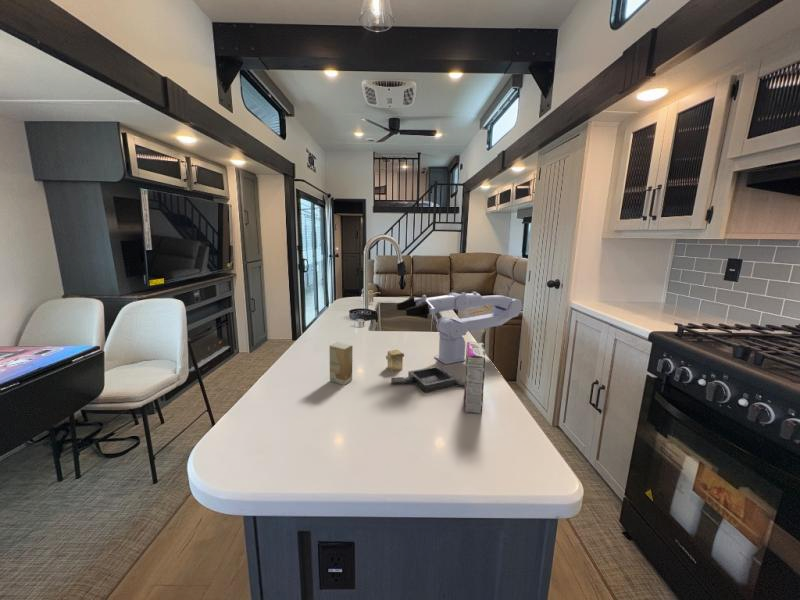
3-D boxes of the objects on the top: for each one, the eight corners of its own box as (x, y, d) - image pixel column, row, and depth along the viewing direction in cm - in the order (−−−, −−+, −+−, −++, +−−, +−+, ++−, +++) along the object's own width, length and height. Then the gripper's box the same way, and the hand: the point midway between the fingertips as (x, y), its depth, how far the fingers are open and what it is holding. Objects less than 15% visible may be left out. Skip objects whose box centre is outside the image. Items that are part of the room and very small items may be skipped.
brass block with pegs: (400, 364, 117) (400, 349, 116) (405, 368, 114) (405, 352, 112) (384, 367, 114) (384, 351, 113) (388, 371, 111) (389, 355, 110)
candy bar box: (463, 392, 97) (466, 341, 93) (480, 394, 96) (484, 342, 92) (463, 412, 86) (466, 355, 83) (482, 415, 85) (486, 356, 82)
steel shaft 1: (412, 381, 104) (412, 375, 103) (413, 384, 102) (413, 378, 101) (391, 382, 103) (391, 376, 103) (391, 385, 101) (391, 379, 101)
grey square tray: (436, 372, 110) (436, 365, 110) (455, 386, 101) (455, 378, 100) (408, 378, 106) (408, 371, 105) (424, 393, 96) (425, 385, 96)
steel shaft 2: (453, 386, 101) (453, 380, 100) (453, 383, 102) (454, 378, 102) (476, 389, 99) (476, 383, 98) (476, 386, 101) (476, 380, 100)
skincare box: (329, 381, 103) (328, 345, 101) (337, 376, 107) (336, 341, 105) (345, 385, 100) (344, 348, 98) (353, 380, 104) (352, 344, 102)
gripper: (426, 289, 121) (393, 294, 115) (446, 298, 108) (410, 303, 103) (426, 307, 123) (393, 312, 117) (446, 317, 110) (411, 324, 104)
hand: (401, 309), depth 110 cm, fingers open, 7 cm apart
